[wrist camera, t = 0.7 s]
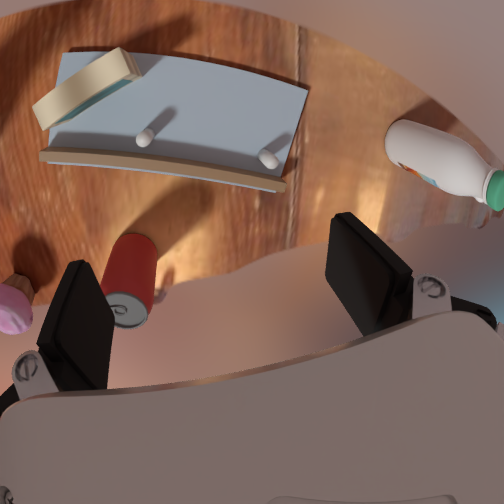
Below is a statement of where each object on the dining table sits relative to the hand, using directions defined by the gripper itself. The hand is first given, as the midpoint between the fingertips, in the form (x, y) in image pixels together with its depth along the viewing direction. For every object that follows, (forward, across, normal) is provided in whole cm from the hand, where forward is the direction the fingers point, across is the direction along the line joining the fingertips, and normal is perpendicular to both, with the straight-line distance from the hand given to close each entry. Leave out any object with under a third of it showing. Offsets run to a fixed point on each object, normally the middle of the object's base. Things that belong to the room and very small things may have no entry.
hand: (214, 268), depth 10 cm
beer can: (+25, +10, +14) cm, 30 cm away
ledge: (+25, +2, -4) cm, 25 cm away
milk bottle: (+25, -31, +1) cm, 40 cm away
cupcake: (+25, +33, +15) cm, 44 cm away
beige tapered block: (+24, +10, -9) cm, 28 cm away
